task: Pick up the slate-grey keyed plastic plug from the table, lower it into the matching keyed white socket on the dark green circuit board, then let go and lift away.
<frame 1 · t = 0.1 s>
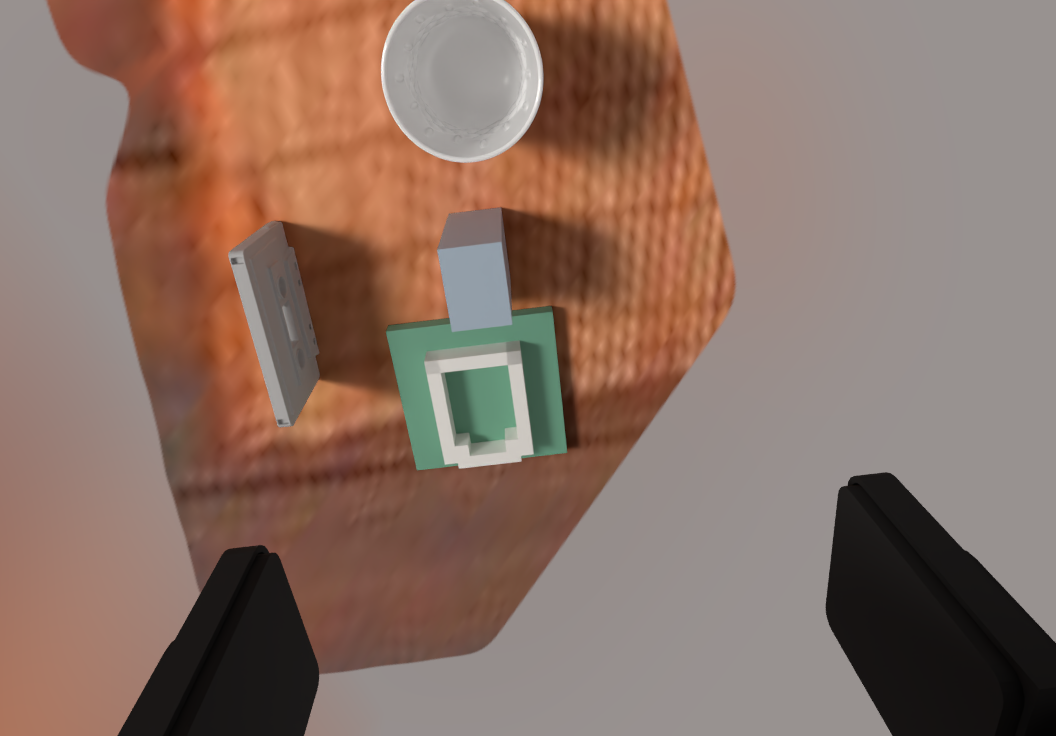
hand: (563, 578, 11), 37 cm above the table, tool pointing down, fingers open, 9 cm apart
plug: (480, 246, 46), on the table
header board: (481, 387, 51), on the table
white cup: (470, 72, 41), on the table
cassette: (297, 302, 47), on the table
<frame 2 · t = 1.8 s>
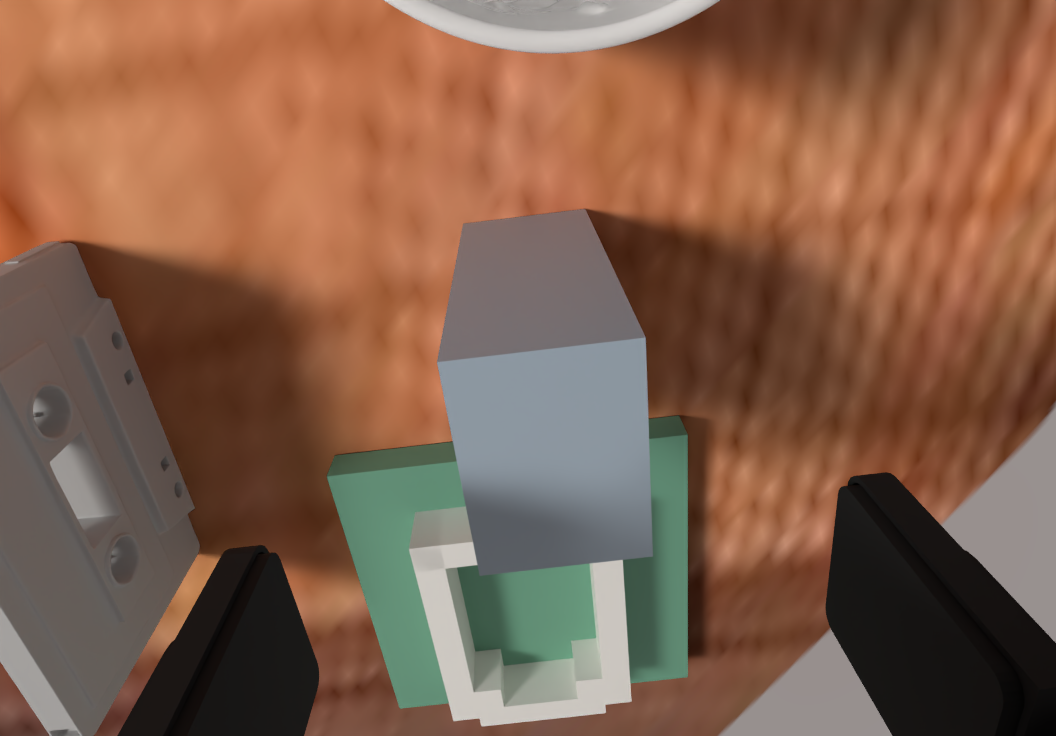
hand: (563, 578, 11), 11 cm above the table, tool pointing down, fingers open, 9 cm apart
plug: (533, 295, 20), on the table
header board: (525, 564, 25), on the table
cassette: (136, 410, 22), on the table
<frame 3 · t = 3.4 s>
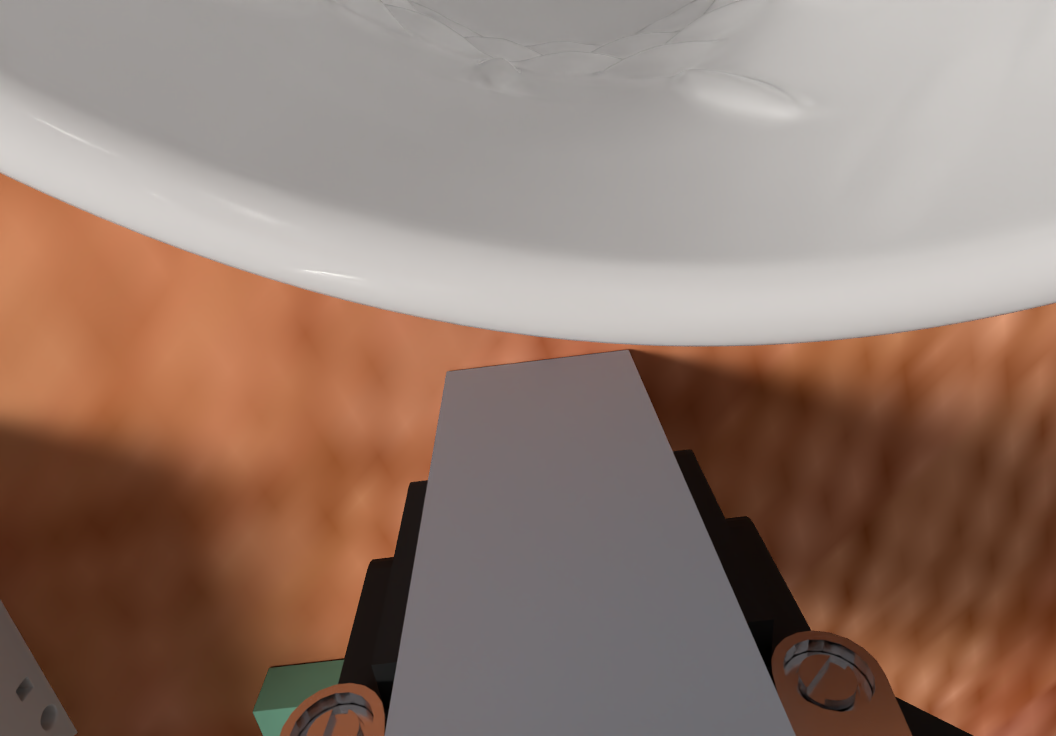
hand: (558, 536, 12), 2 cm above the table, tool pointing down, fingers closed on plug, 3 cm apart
plug: (550, 466, 14), on the table, touching gripper
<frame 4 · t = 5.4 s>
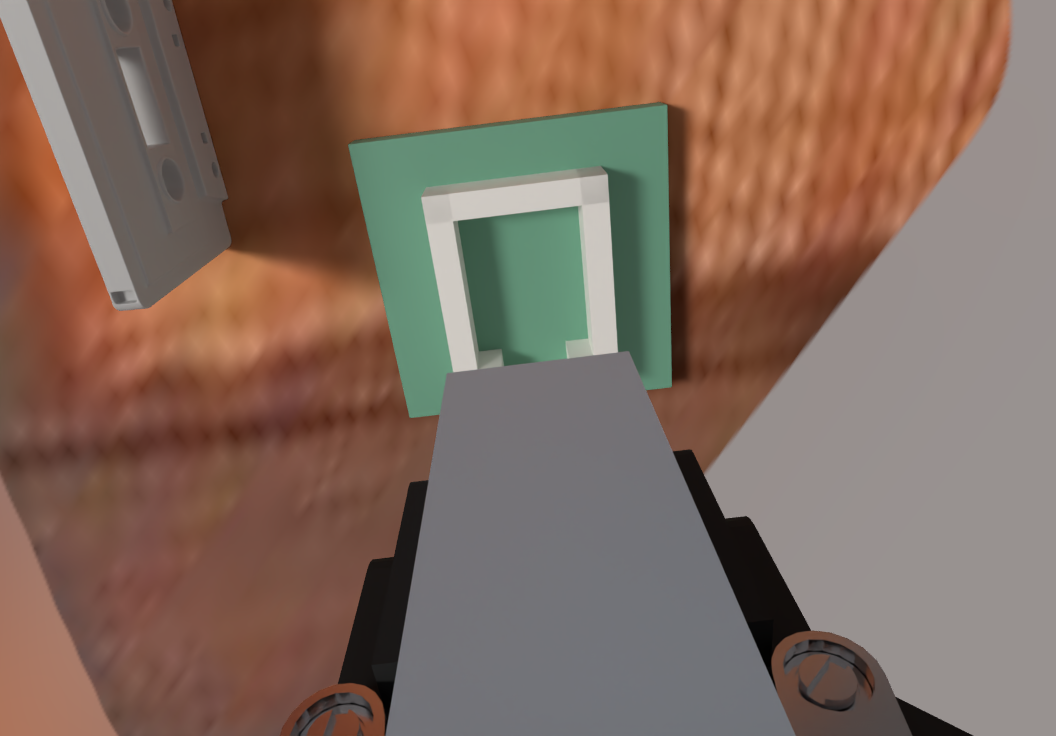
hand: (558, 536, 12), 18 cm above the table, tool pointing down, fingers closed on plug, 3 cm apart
plug: (550, 467, 14), point 16 cm above the table, touching gripper
header board: (524, 268, 28), on the table
cassette: (179, 91, 25), on the table
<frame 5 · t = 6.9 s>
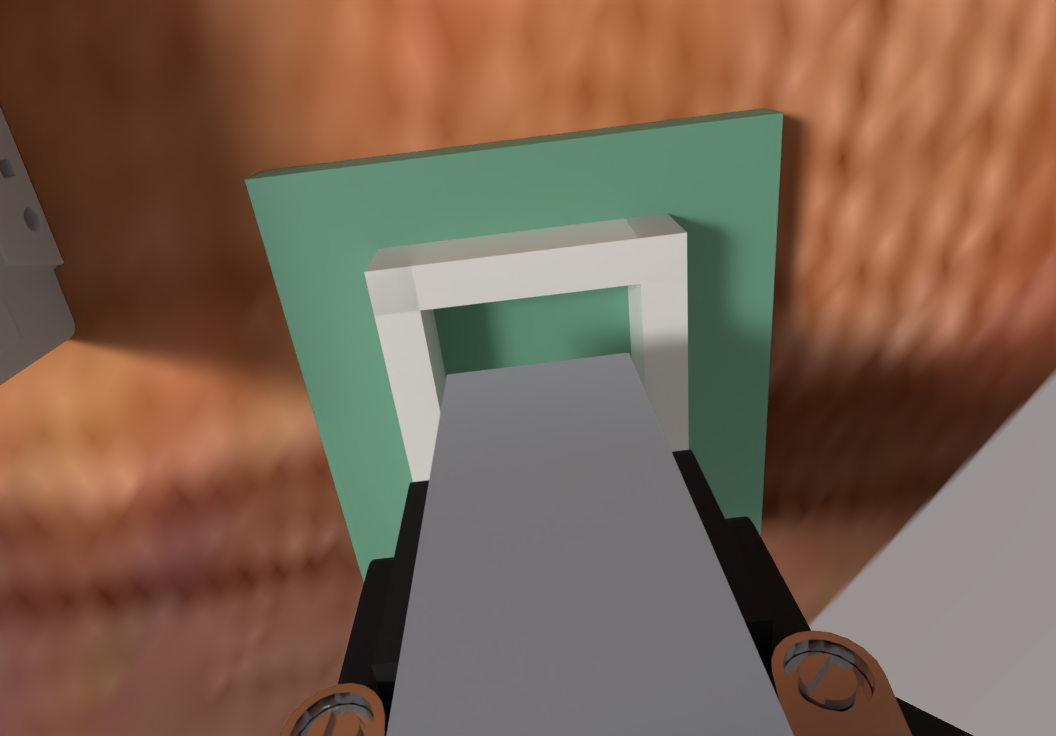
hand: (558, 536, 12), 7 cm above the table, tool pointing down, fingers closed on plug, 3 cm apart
plug: (550, 468, 14), point 5 cm above the table, touching gripper
header board: (538, 365, 18), on the table
when the fingers open (4 cm above the table, at t = 7.8 s): plug stays where it is, resting on header board.
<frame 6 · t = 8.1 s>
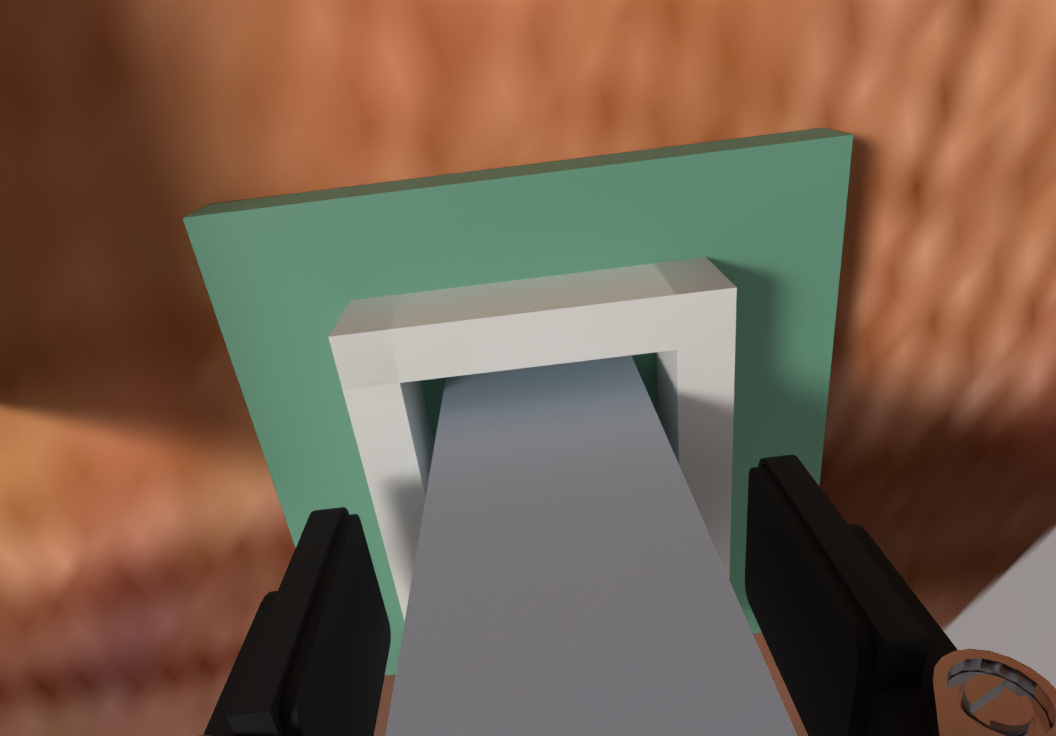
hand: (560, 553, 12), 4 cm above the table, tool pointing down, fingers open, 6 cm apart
plug: (549, 458, 14), point 1 cm above the table, touching header board
header board: (545, 430, 15), on the table
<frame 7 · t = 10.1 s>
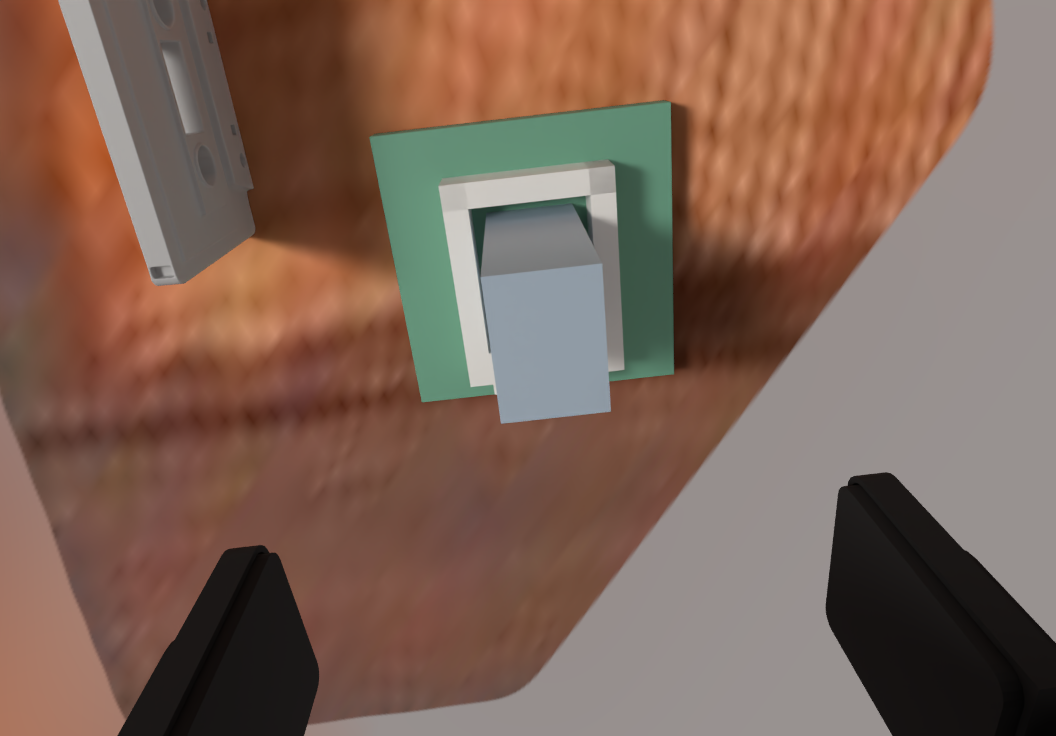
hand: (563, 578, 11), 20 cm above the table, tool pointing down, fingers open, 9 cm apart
plug: (535, 265, 29), point 1 cm above the table, touching header board
header board: (533, 258, 30), on the table
cassette: (210, 85, 26), on the table
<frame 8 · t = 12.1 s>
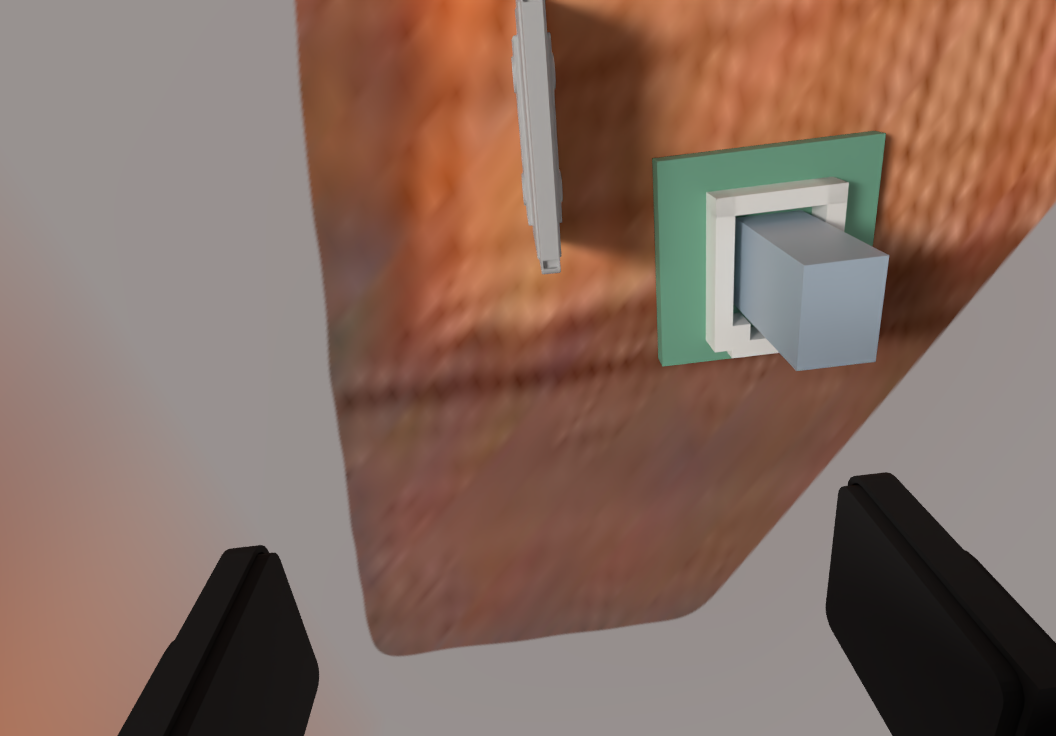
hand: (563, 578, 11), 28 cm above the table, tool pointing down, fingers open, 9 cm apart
plug: (766, 258, 37), point 1 cm above the table, touching header board
header board: (758, 252, 38), on the table
cassette: (533, 123, 35), on the table
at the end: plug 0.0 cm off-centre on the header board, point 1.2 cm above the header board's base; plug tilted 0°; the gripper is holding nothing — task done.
